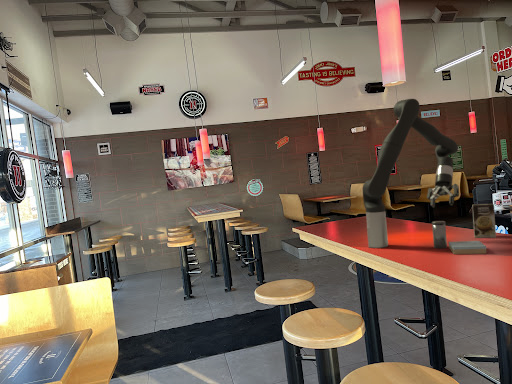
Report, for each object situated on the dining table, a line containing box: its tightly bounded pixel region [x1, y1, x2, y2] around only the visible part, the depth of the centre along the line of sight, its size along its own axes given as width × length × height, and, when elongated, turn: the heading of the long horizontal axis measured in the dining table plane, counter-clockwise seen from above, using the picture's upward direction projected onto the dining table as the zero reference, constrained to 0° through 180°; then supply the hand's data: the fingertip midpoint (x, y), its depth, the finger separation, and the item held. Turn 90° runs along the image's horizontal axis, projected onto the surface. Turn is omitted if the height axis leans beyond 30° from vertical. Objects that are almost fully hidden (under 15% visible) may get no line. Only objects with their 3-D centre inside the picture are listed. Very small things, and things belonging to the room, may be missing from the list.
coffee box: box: [472, 203, 497, 239], centre depth 186 cm, size 9×6×16 cm
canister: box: [431, 220, 448, 250], centre depth 171 cm, size 6×6×12 cm
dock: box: [447, 240, 487, 255], centre depth 160 cm, size 12×12×3 cm
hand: (441, 205), depth 180 cm, fingers open, 8 cm apart
